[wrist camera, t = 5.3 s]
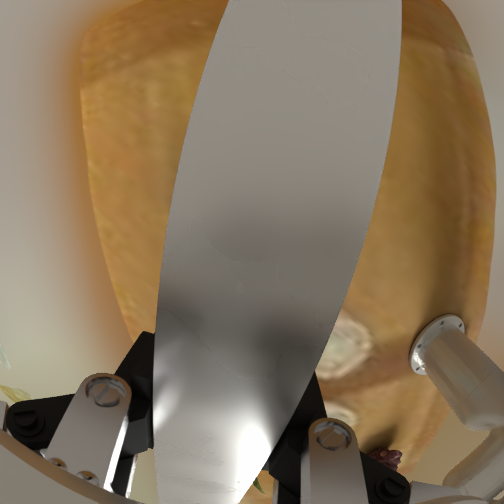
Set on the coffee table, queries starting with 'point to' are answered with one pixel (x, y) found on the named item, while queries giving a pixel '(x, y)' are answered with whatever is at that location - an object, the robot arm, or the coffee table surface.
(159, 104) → the coffee table surface
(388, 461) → the pine cone
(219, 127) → the steel rail
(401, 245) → the coffee table surface
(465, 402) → the robot arm
